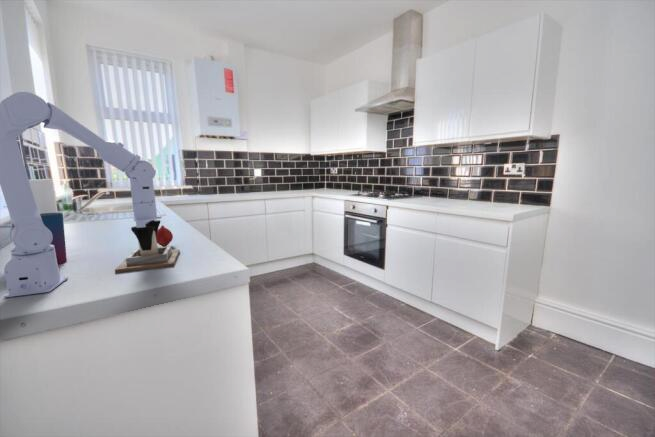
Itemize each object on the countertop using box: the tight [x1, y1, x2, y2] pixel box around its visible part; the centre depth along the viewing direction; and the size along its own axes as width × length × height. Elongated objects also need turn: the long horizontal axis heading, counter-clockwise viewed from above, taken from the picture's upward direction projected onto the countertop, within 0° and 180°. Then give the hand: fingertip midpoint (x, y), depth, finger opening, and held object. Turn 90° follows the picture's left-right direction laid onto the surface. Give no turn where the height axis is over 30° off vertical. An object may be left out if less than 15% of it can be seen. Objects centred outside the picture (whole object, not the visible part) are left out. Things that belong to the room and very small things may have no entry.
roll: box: [137, 231, 159, 256], centre depth 87 cm, size 5×5×8 cm
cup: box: [40, 212, 68, 265], centre depth 86 cm, size 7×7×15 cm
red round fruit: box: [156, 225, 174, 247], centre depth 104 cm, size 6×6×8 cm
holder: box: [114, 245, 181, 274], centre depth 87 cm, size 16×14×3 cm
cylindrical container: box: [29, 178, 59, 214], centre depth 92 cm, size 7×7×25 cm
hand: (149, 247), depth 87 cm, fingers open, 7 cm apart
